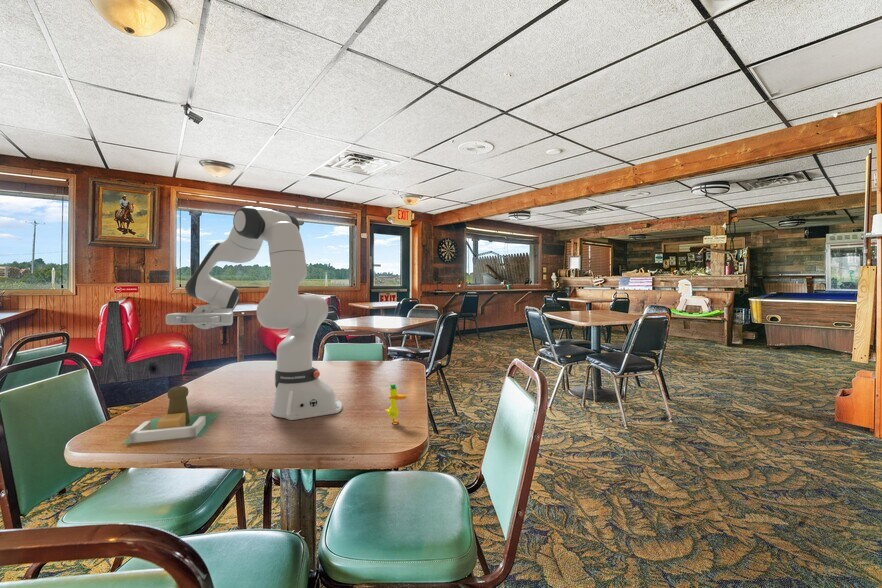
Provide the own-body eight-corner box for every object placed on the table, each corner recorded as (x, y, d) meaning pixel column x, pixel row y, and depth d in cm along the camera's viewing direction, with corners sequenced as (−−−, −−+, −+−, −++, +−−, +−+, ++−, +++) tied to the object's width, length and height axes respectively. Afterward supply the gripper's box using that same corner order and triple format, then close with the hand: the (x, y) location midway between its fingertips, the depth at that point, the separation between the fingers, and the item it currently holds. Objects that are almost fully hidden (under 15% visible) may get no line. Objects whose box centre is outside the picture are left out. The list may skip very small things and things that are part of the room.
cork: (178, 427, 108) (178, 390, 108) (160, 426, 109) (160, 389, 109) (195, 420, 114) (195, 384, 114) (177, 419, 115) (177, 383, 115)
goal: (205, 424, 111) (205, 415, 111) (195, 436, 102) (195, 427, 102) (145, 430, 106) (145, 421, 106) (129, 443, 97) (129, 433, 97)
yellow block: (185, 426, 109) (185, 412, 109) (178, 433, 104) (178, 419, 104) (165, 428, 108) (165, 414, 108) (157, 436, 102) (157, 421, 102)
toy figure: (406, 421, 116) (407, 383, 116) (406, 425, 113) (406, 386, 112) (385, 421, 116) (385, 382, 116) (383, 425, 112) (384, 386, 112)
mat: (219, 413, 121) (219, 412, 121) (201, 437, 102) (201, 436, 102) (153, 419, 115) (153, 418, 115) (121, 445, 97) (121, 444, 97)
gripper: (173, 308, 135) (158, 311, 122) (236, 308, 141) (228, 310, 128) (173, 326, 135) (158, 330, 122) (236, 324, 142) (228, 328, 129)
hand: (194, 320), depth 125 cm, fingers open, 8 cm apart
